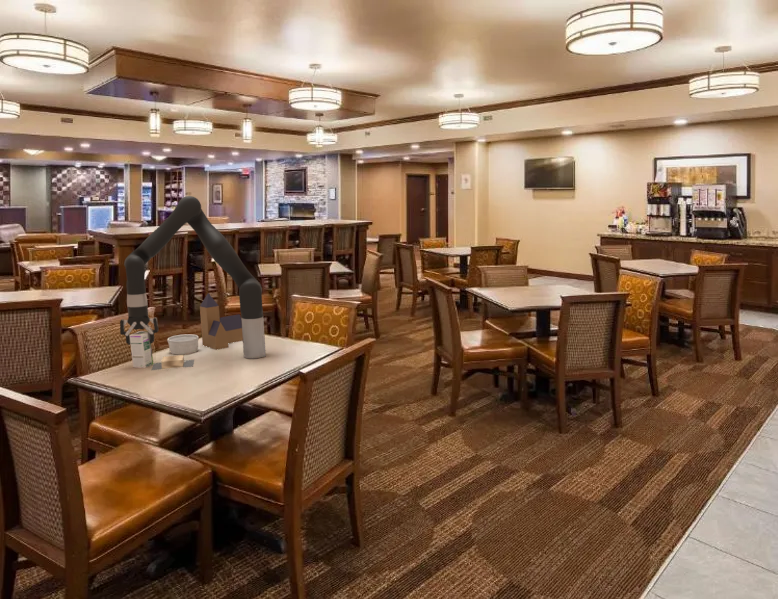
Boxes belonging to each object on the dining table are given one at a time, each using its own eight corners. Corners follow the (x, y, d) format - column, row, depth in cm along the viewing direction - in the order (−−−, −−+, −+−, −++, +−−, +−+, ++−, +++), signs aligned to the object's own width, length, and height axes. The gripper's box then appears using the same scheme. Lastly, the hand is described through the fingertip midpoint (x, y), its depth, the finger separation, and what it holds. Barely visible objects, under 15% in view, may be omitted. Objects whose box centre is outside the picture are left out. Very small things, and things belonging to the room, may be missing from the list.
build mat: (194, 360, 252) (194, 359, 252) (193, 368, 241) (193, 366, 241) (154, 364, 248) (154, 362, 247) (151, 371, 237) (151, 370, 237)
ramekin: (197, 355, 261) (196, 340, 260) (165, 357, 259) (164, 341, 257) (201, 348, 274) (200, 333, 272) (171, 349, 272) (170, 335, 270)
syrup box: (145, 369, 241) (142, 334, 238) (132, 368, 242) (129, 334, 239) (153, 365, 246) (150, 331, 244) (140, 364, 247) (137, 330, 245)
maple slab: (184, 361, 248) (183, 355, 248) (182, 367, 241) (182, 359, 240) (163, 363, 246) (163, 356, 246) (161, 368, 239) (161, 361, 238)
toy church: (202, 345, 279) (198, 293, 274) (237, 338, 292) (234, 288, 287) (216, 349, 270) (212, 295, 266) (251, 342, 283) (248, 290, 279)
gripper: (157, 302, 245) (160, 340, 248) (119, 304, 241) (123, 342, 244) (155, 305, 238) (158, 344, 241) (116, 307, 234) (120, 347, 237)
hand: (140, 343), depth 243 cm, fingers open, 8 cm apart
